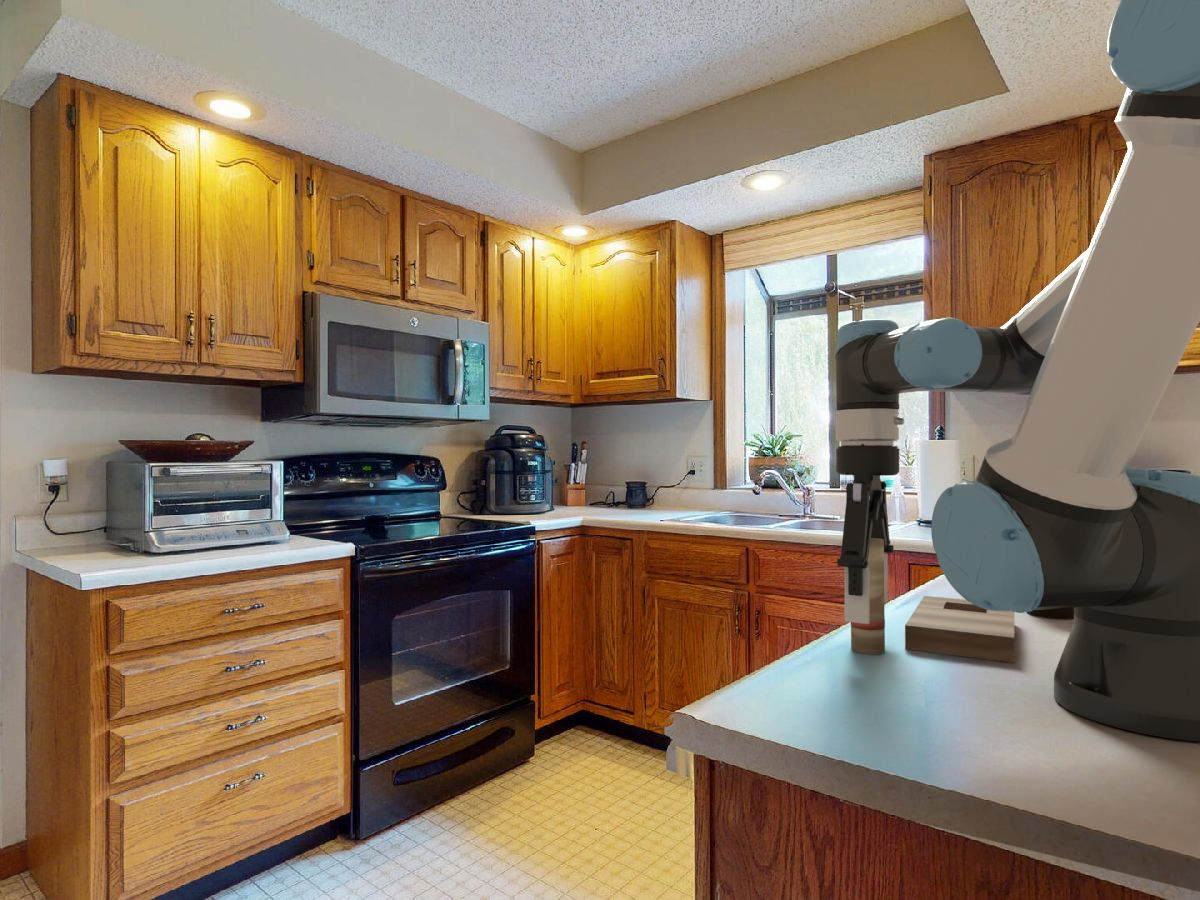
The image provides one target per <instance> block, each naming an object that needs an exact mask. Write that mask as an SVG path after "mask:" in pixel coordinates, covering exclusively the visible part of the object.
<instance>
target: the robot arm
mask: <svg viewBox="0 0 1200 900" xmlns="http://www.w3.org/2000/svg"><path fill="white" fill-rule="evenodd" d="M1110 24H1111V25H1110V28H1109V31H1108V38H1107V55H1108V56H1109V57H1110V58H1112V61H1111V62H1110V64H1109V66H1110V68H1111V69H1110V70H1111V71H1112V73H1113V75H1114V76H1115V77H1116V78H1117V80H1119V81H1120V82H1119V83H1121V84H1122V85H1123V86H1124V87H1126V91H1125V93H1124V95H1123V96H1124V97H1123V99H1122V101H1121V104H1120V106H1119V109H1118V112H1117V115H1116V117H1115V120H1114V123H1115V125H1116V127H1117V129H1118V130H1119V132H1120V135H1122V137H1123V138H1124V141H1125V142H1126V147H1127V152H1126V153H1125V156H1124V159H1123V162H1122V165H1121V166H1120V169H1119V172H1118V175H1117V177H1116V180H1115V182H1114V185H1113V187H1112V188H1111V192H1110V194H1109V196H1108V199H1107V200H1106V201H1107V202H1106V205H1105V206H1104V210H1103V211H1102V214H1101V215H1100V219H1099V222H1098V224H1097V226H1096V229H1095V232H1094V234H1093V236H1092V239H1091V241H1090V244H1089V247H1088V248H1087V250H1085V251H1084V252H1083V253H1082V254H1080V255H1079V257H1077V258H1076V259H1075V260H1074V261H1073V262H1072V263H1071V264H1070V265H1069V266H1068V267H1067V268H1066V269H1064V271H1062V273H1060V274H1059V275H1058V276H1057V277H1056V278H1055V279H1054V280H1052V281H1051V282H1050V283H1049V285H1047V286H1046V287H1045V288H1044V289H1043V290H1042V291H1040V292H1039V294H1037V295H1036V296H1035V297H1034V298H1033V299H1031V301H1030V302H1029V303H1027V304H1026V305H1025V306H1024V307H1023V308H1022V309H1021V310H1020V311H1019V312H1018V313H1016V314H1015V315H1014V316H1013V317H1011V318H1010V319H1009V321H1007V322H1006V323H1005V324H1004V325H1002V326H999V327H989V326H987V327H986V326H970V325H969V324H968V323H966V322H964V320H962V319H959V318H954V317H945V318H938V319H932V318H930V319H926V320H923V321H921V322H917V323H915V324H913V325H909V326H906V327H903V328H902V327H901V328H900V327H899V324H897V323H896V322H895V321H893V320H890V319H883V318H880V319H879V318H877V319H876V318H875V319H873V318H872V319H862V320H858V321H850V322H846V323H844V324H842V325H841V326H840V327H839V328H838V330H837V332H836V333H837V334H836V350H835V353H834V360H835V394H836V395H835V399H836V400H835V401H836V402H835V404H836V411H835V440H836V441H837V442H840V446H839V445H838V446H837V448H835V453H836V454H835V456H836V457H835V461H836V463H835V465H836V466H835V470H836V473H837V474H838V475H842V476H853V481H852V483H847V484H846V486H845V490H846V493H845V494H846V496H845V497H846V500H845V501H846V502H845V512H844V520H843V530H842V531H843V532H842V539H841V540H842V542H841V550H840V556H839V558H837V562H836V563H837V567H840V568H842V567H844V622H847V623H848V622H849V623H851V622H855V623H864V624H869V623H870V568H867V566H868V555H869V548H870V540H871V538H877V539H883V540H884V604H887V603H888V601H889V600H888V599H889V598H888V594H889V592H888V588H889V587H888V583H889V582H888V575H889V573H888V562H889V561H888V553H889V554H893V553H894V544H891V540H890V529H889V518H888V517H889V516H888V505H887V482H886V480H881V476H882V477H883V476H885V477H886V476H897V475H898V474H899V473H900V448H899V447H898V446H897V445H894V442H898V441H899V439H900V436H899V435H900V433H899V431H900V430H899V429H900V428H899V426H902V425H904V424H905V419H904V417H902V416H899V414H900V411H899V410H900V394H906V393H915V392H944V393H945V392H949V393H952V392H954V393H956V392H957V393H958V392H959V393H960V392H961V393H991V394H993V393H997V394H999V393H1000V394H1013V395H1023V396H1024V395H1025V396H1028V398H1027V399H1026V403H1025V405H1024V408H1023V411H1022V413H1021V416H1020V418H1019V420H1018V423H1017V425H1016V428H1015V430H1014V432H1013V435H1012V437H1010V438H1008V439H1006V440H1003V441H1001V442H998V443H995V444H993V445H990V446H989V447H988V448H987V450H986V452H985V454H984V458H983V460H982V462H981V465H980V467H979V470H978V473H977V475H976V477H975V480H973V481H972V480H962V481H960V482H958V483H955V484H954V485H953V486H949V487H947V488H946V489H944V490H943V491H942V493H941V494H940V495H939V497H938V498H937V500H936V502H935V505H934V507H933V512H932V516H931V523H930V524H931V529H930V530H931V539H932V547H933V551H934V552H935V554H936V558H937V562H938V565H939V567H940V570H941V572H942V573H943V575H944V578H945V579H946V580H947V581H948V583H949V584H950V586H951V587H952V588H953V589H954V590H955V591H956V592H957V593H958V594H959V595H960V597H962V599H964V600H967V601H969V602H970V603H972V604H974V605H976V606H978V607H980V608H983V609H987V610H993V611H1013V612H1014V613H1017V614H1019V613H1020V614H1023V613H1027V612H1031V611H1033V610H1043V609H1058V608H1074V619H1073V623H1072V627H1071V630H1070V633H1069V636H1068V638H1067V640H1066V643H1065V646H1064V648H1063V651H1062V653H1061V655H1060V658H1059V661H1058V664H1057V665H1056V668H1055V670H1054V674H1053V698H1054V699H1055V701H1056V702H1057V703H1058V704H1059V705H1060V706H1061V707H1064V708H1065V709H1067V710H1068V711H1070V712H1072V713H1074V714H1077V715H1078V716H1081V717H1084V718H1086V719H1088V720H1092V721H1095V722H1097V723H1101V724H1104V725H1108V726H1111V727H1113V728H1117V729H1122V730H1126V731H1130V732H1134V733H1139V734H1143V735H1147V736H1154V737H1160V738H1166V739H1173V740H1181V741H1190V742H1200V474H1194V473H1187V472H1179V471H1171V470H1162V469H1159V470H1158V469H1157V470H1156V469H1155V470H1152V469H1147V468H1137V467H1129V465H1130V463H1131V462H1132V459H1133V457H1134V456H1135V453H1136V451H1137V450H1138V448H1139V447H1138V446H1139V445H1140V443H1141V442H1142V439H1143V436H1144V435H1145V433H1146V431H1147V428H1148V427H1149V424H1150V423H1151V421H1152V419H1153V417H1154V414H1155V413H1156V410H1157V408H1158V406H1159V404H1160V402H1161V401H1162V399H1163V397H1164V395H1165V392H1166V390H1167V388H1168V386H1169V384H1170V382H1171V381H1172V379H1173V376H1174V375H1175V371H1176V370H1177V368H1178V366H1179V363H1180V362H1181V360H1182V357H1183V356H1184V353H1185V352H1186V350H1187V348H1188V345H1189V343H1190V342H1191V339H1192V337H1193V335H1194V333H1195V332H1196V330H1197V328H1198V325H1199V323H1200V0H1120V1H1119V3H1118V5H1117V8H1116V10H1115V12H1114V15H1113V18H1112V21H1111V23H1110Z"/></svg>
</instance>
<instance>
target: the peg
mask: <svg viewBox="0 0 1200 900" xmlns="http://www.w3.org/2000/svg"><path fill="white" fill-rule="evenodd" d="M884 554H885V552H884V540H883V539H877V538H871V540H870V548H869V555H868V566H867V568H870V623H869V624H864V623H855V622H850V645H851V646H850V649H851V651H853V652H855V653H860V654H865V655H881V654H884V653H885V652H886V645H885V644H886V641H885V640H886V639H885V638H886V635H885V634H886V633H885V630H886V619H885V618H886V617H885V603H884Z"/></svg>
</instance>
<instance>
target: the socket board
mask: <svg viewBox="0 0 1200 900" xmlns="http://www.w3.org/2000/svg"><path fill="white" fill-rule="evenodd" d="M904 625H905V626H904V647H905V650H912V651H921V652H928V653H929V652H930V653H936V654H943V655H950V656H951V655H952V656H959V657H966V658H974V659H981V660H983V659H984V660H988V661H996V662H1003V663H1004V662H1005V663H1012V664H1013V663H1014V664H1015V612H1013V611H993V610H987V609H983V608H980V607H978V606H976V605H974V604H972V603H970V602H969V601H967V600H966V599H964V598H952V597H941V596H931V595H929V596H928V595H924V596H923V597H922V599H921V600H920V602H919V603H918V604H917V606H916V608H915V609H914V611H913V612H912V614H911V615H910V617H909V618H908V619H907V621H906V623H905V624H904Z"/></svg>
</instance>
